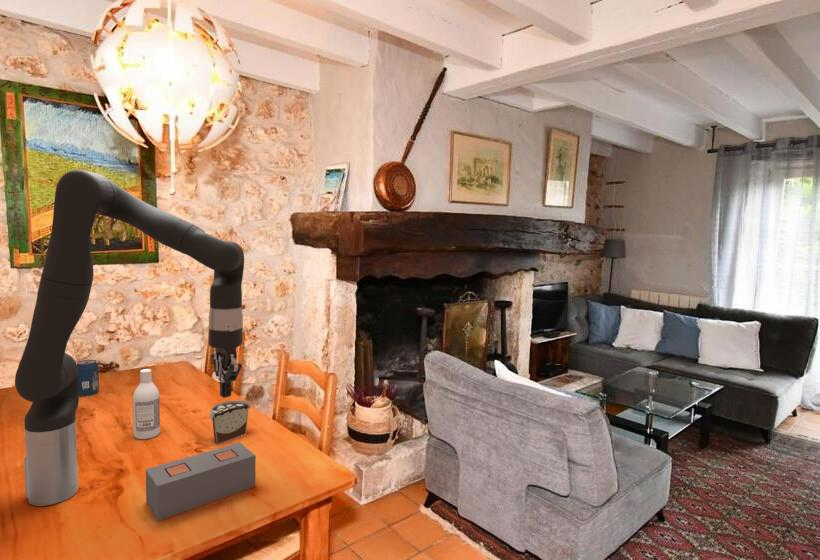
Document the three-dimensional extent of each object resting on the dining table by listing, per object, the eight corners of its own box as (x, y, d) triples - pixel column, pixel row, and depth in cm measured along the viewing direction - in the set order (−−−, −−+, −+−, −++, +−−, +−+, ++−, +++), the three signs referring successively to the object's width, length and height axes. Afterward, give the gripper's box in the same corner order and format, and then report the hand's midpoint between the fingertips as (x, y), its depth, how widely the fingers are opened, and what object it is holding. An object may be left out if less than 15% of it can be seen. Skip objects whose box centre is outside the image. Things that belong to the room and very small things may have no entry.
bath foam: (163, 435, 141) (162, 370, 139) (138, 442, 136) (136, 375, 134) (155, 427, 146) (154, 365, 144) (130, 434, 141) (129, 369, 139)
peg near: (171, 508, 105) (171, 476, 105) (166, 500, 108) (165, 468, 107) (190, 501, 108) (190, 470, 107) (184, 493, 111) (184, 463, 110)
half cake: (239, 427, 149) (239, 396, 148) (250, 433, 145) (250, 402, 144) (201, 439, 140) (201, 407, 139) (212, 446, 136) (212, 413, 135)
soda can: (78, 391, 173) (77, 359, 172) (100, 389, 176) (99, 358, 175) (74, 398, 167) (73, 365, 166) (97, 395, 170) (96, 363, 169)
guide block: (157, 521, 101) (157, 486, 100) (146, 502, 108) (145, 469, 107) (255, 486, 116) (255, 455, 115) (240, 471, 123) (240, 442, 122)
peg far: (220, 490, 113) (220, 460, 112) (214, 483, 116) (214, 454, 115) (237, 485, 116) (237, 455, 115) (230, 478, 118) (230, 449, 118)
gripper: (199, 322, 114) (199, 391, 116) (220, 333, 104) (220, 408, 106) (230, 319, 119) (230, 385, 121) (253, 329, 109) (252, 401, 111)
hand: (225, 396), depth 113 cm, fingers closed
